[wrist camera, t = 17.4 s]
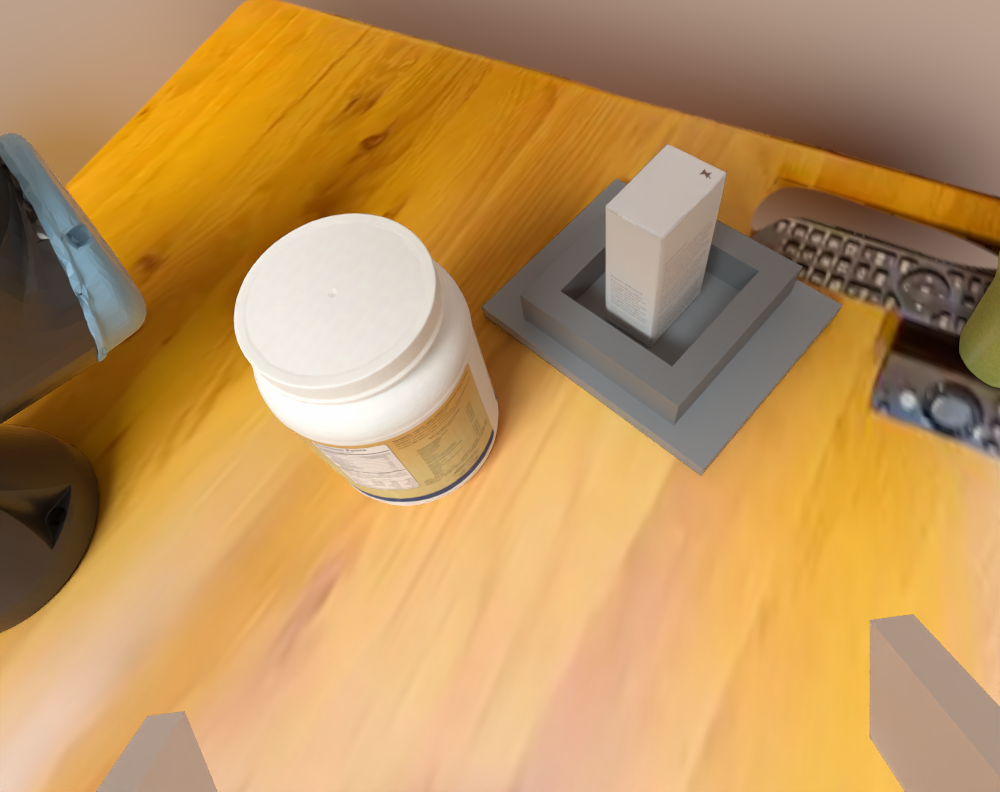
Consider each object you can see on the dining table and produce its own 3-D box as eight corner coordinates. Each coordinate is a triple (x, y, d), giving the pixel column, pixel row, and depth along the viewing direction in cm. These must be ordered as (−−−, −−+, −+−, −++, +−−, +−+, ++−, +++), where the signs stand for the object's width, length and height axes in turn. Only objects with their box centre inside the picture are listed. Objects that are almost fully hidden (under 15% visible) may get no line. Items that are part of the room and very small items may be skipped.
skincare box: (653, 265, 49) (668, 139, 38) (701, 294, 47) (731, 171, 36) (601, 319, 47) (602, 204, 36) (649, 351, 45) (665, 239, 35)
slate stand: (484, 315, 50) (475, 283, 46) (615, 189, 54) (617, 149, 50) (700, 475, 42) (710, 452, 38) (836, 314, 46) (858, 278, 42)
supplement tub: (350, 357, 50) (244, 202, 35) (505, 353, 48) (463, 188, 33) (324, 511, 45) (185, 407, 30) (497, 512, 43) (443, 403, 28)
